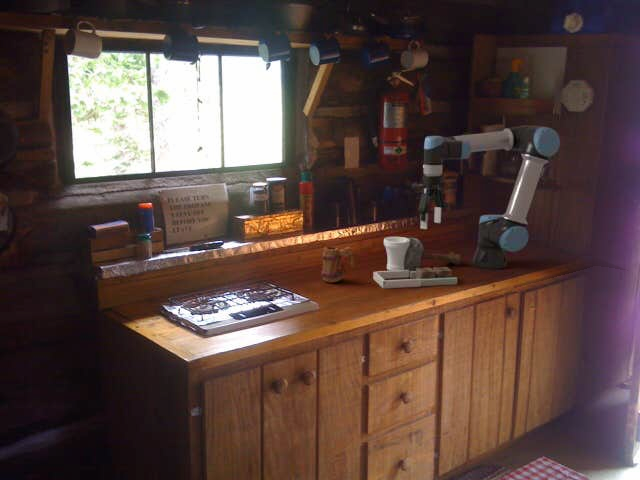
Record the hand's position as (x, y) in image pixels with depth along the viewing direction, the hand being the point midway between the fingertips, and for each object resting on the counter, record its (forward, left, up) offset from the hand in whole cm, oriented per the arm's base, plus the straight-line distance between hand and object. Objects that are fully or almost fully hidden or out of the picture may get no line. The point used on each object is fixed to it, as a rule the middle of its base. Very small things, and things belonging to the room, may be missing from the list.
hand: (430, 225), depth 288 cm
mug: (+39, -2, -23) cm, 45 cm away
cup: (+10, -13, -23) cm, 28 cm away
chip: (-5, +3, -23) cm, 24 cm away
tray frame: (+15, +3, -23) cm, 27 cm away
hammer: (-7, -16, -23) cm, 29 cm away
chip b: (+2, +3, -23) cm, 23 cm away
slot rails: (-1, +3, -23) cm, 23 cm away
